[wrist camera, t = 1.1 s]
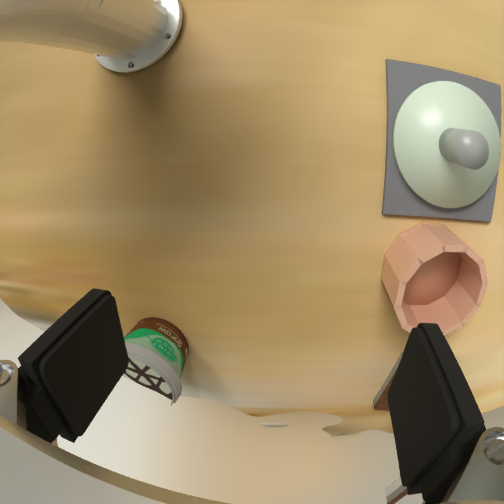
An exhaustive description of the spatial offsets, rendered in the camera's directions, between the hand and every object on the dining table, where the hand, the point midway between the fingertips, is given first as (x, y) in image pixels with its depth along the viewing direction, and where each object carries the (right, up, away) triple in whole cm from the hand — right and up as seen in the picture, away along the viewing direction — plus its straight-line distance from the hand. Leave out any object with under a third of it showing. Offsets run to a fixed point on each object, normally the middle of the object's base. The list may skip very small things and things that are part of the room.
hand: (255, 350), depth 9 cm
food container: (-13, -9, +37) cm, 41 cm away
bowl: (+22, +1, +28) cm, 35 cm away
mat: (+23, +16, +21) cm, 35 cm away
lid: (+23, +15, +21) cm, 34 cm away
